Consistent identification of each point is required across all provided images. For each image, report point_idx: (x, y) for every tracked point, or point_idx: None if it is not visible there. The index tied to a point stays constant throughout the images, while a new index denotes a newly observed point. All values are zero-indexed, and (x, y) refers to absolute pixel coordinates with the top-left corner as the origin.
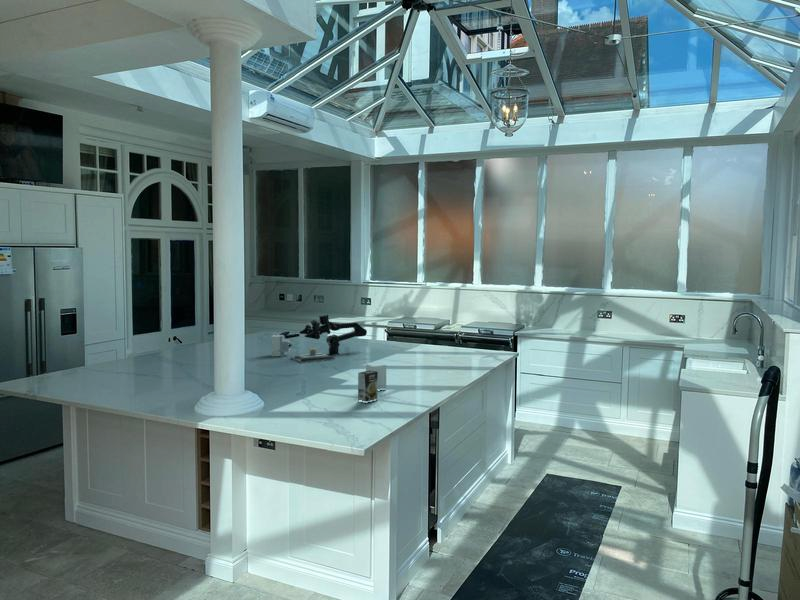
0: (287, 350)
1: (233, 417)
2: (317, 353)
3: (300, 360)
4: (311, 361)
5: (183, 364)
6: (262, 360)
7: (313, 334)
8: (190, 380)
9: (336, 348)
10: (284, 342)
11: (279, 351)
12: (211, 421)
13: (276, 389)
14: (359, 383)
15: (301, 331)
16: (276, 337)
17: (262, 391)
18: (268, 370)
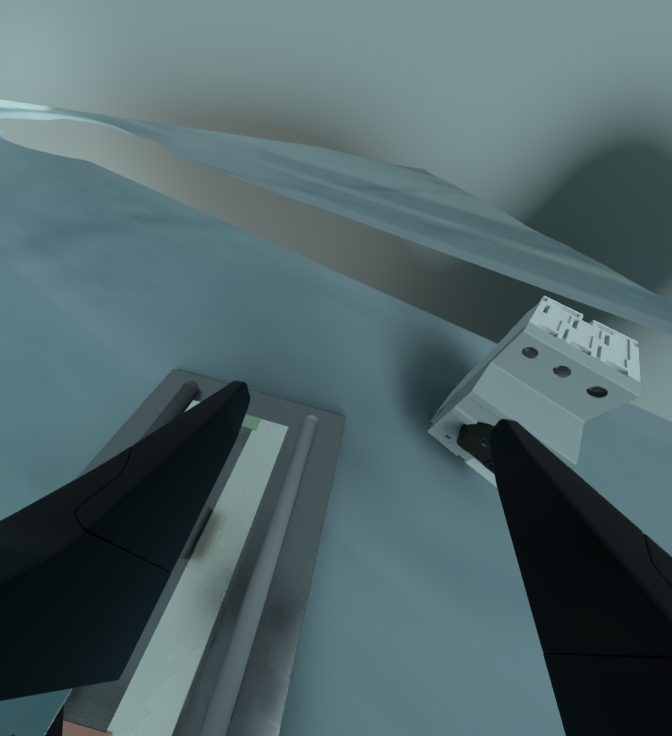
0: (432, 425)
1: (4, 107)
2: (186, 656)
3: (204, 389)
4: (119, 436)
5: (436, 229)
6: (382, 320)
7: (17, 640)
8: (278, 180)
9: None
10: (478, 378)
11: (453, 395)
12: (34, 106)
13: (11, 163)
14: None
15: (525, 453)
16: (528, 317)
17: (46, 156)
18: (206, 248)
